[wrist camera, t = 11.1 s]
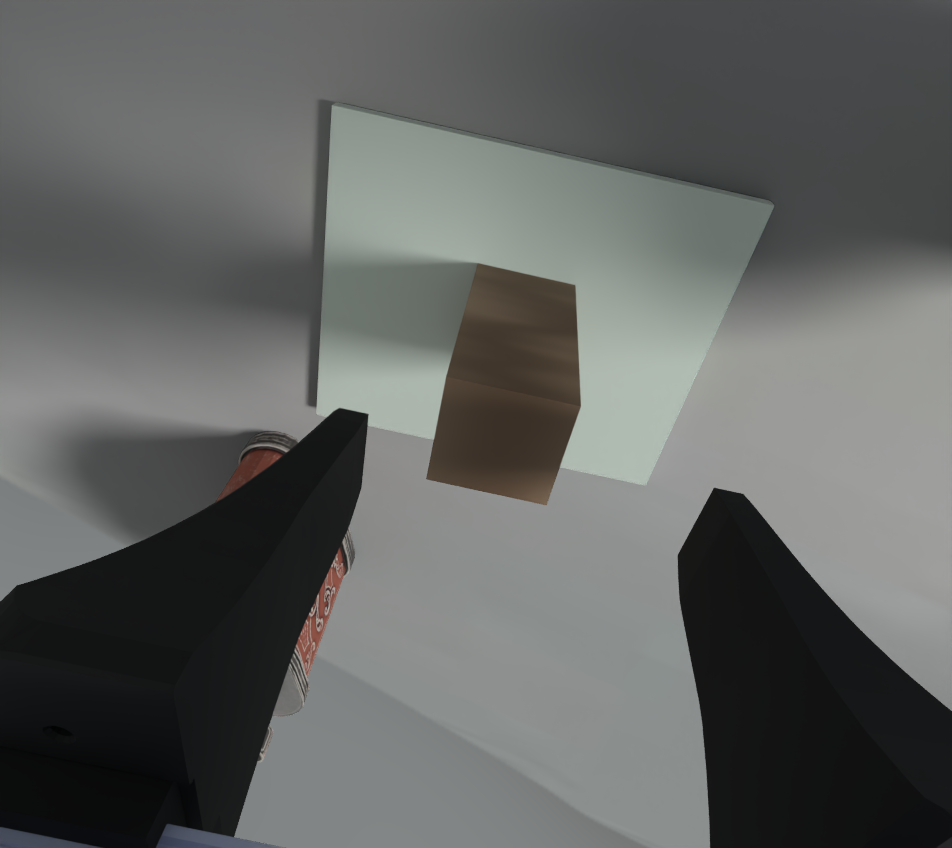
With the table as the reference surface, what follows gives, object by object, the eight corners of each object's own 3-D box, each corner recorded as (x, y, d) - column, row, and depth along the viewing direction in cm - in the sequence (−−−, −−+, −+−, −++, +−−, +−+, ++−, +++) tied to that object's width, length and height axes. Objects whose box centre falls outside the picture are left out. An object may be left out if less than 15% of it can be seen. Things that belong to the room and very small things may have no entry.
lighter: (228, 437, 27) (83, 644, 18) (303, 426, 26) (185, 636, 18) (304, 570, 31) (213, 785, 23) (369, 564, 30) (300, 784, 22)
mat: (770, 200, 19) (774, 206, 19) (644, 477, 25) (645, 485, 25) (337, 102, 19) (331, 105, 18) (320, 407, 25) (316, 414, 25)
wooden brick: (575, 285, 21) (581, 406, 15) (549, 368, 23) (546, 505, 17) (477, 262, 21) (446, 376, 15) (460, 348, 22) (426, 479, 17)
